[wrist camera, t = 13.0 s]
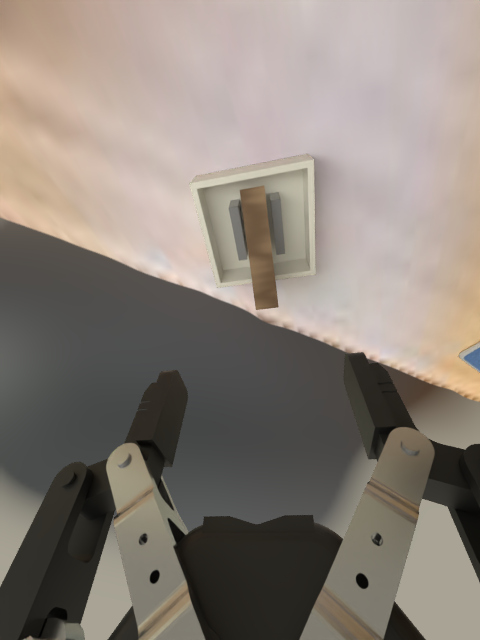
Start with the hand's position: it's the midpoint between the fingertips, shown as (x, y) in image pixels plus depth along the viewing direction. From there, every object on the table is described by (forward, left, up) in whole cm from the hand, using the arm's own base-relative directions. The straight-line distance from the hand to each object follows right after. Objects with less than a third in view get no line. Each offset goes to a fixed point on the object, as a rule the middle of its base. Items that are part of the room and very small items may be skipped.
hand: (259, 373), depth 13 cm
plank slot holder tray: (0, 0, -24) cm, 24 cm away
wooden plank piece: (0, +8, -17) cm, 19 cm away
